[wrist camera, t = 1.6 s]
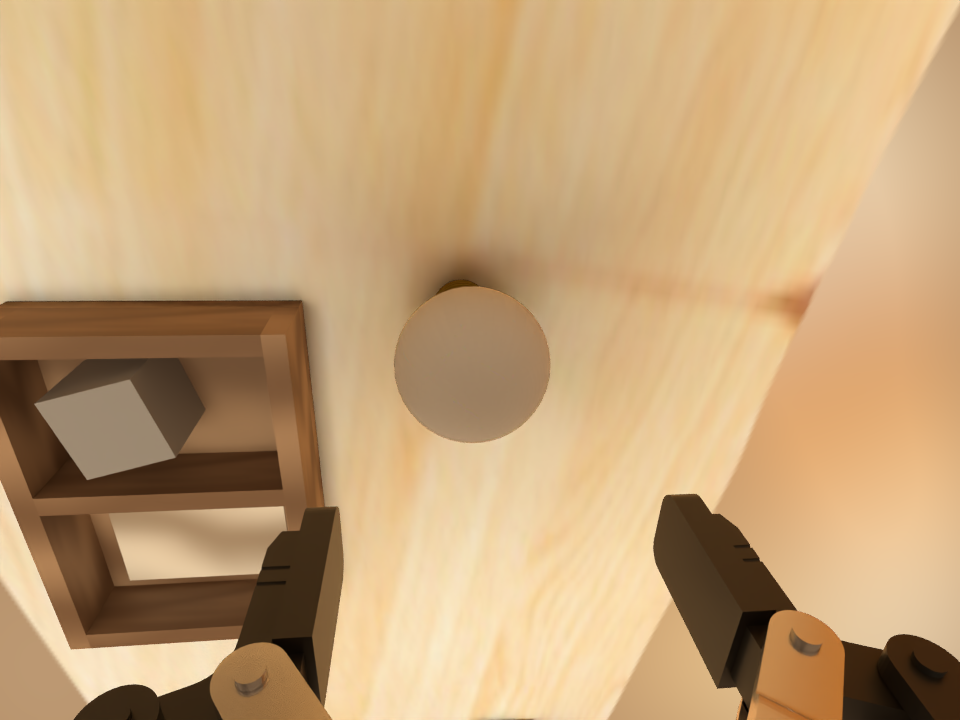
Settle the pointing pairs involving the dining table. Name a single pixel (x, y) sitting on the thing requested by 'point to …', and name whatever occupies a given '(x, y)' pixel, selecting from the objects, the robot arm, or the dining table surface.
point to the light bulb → (472, 363)
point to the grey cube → (122, 413)
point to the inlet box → (161, 466)
